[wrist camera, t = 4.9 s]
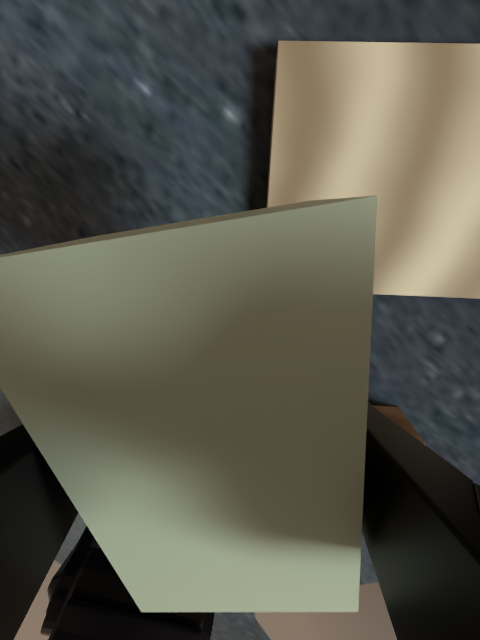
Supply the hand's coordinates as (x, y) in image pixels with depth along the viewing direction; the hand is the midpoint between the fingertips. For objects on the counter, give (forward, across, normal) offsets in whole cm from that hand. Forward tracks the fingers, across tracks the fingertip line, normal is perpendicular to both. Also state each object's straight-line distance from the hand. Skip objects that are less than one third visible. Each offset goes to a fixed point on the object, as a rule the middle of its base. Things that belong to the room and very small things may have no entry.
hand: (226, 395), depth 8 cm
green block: (+1, 0, 0) cm, 1 cm away
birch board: (+12, -8, -6) cm, 16 cm away
